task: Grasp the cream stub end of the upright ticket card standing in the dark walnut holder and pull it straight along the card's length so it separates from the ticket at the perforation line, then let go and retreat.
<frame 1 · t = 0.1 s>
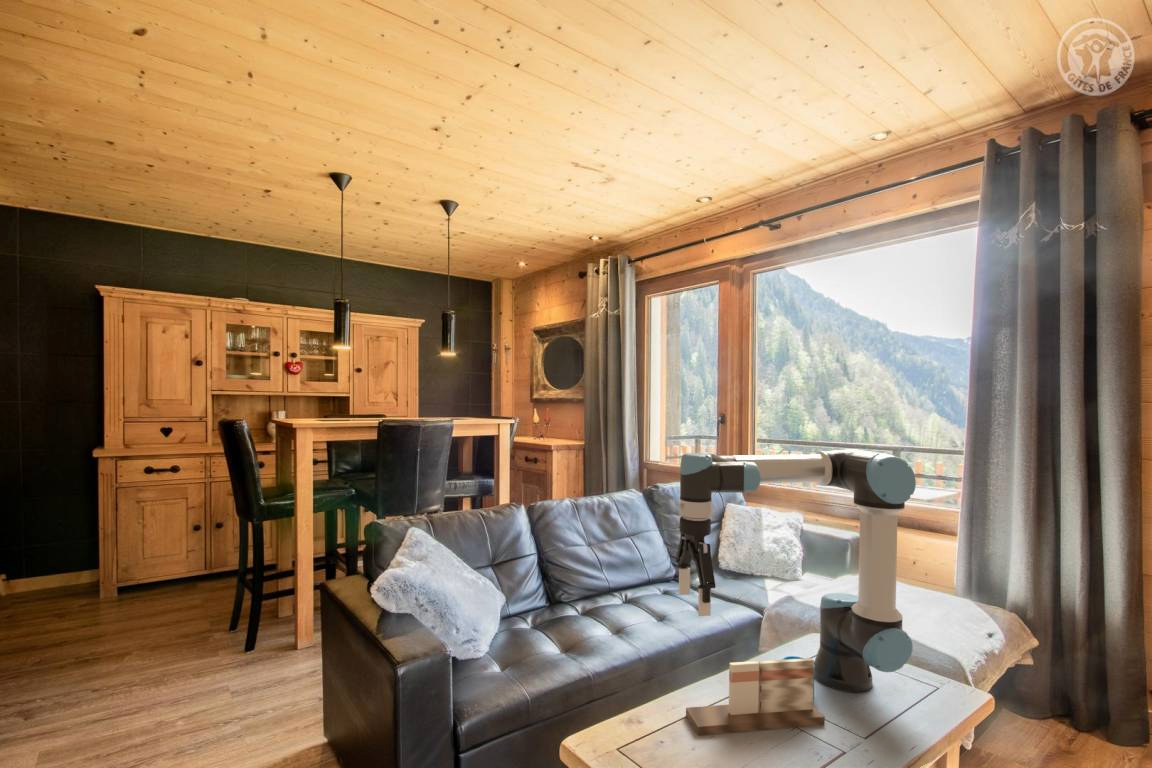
hand: (693, 604, 140), 28 cm above the table, fingers open, 13 cm apart
stub: (743, 687, 140), point 8 cm above the table, slide at 0.0 cm
mug: (793, 691, 154), on the table
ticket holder: (754, 720, 140), on the table
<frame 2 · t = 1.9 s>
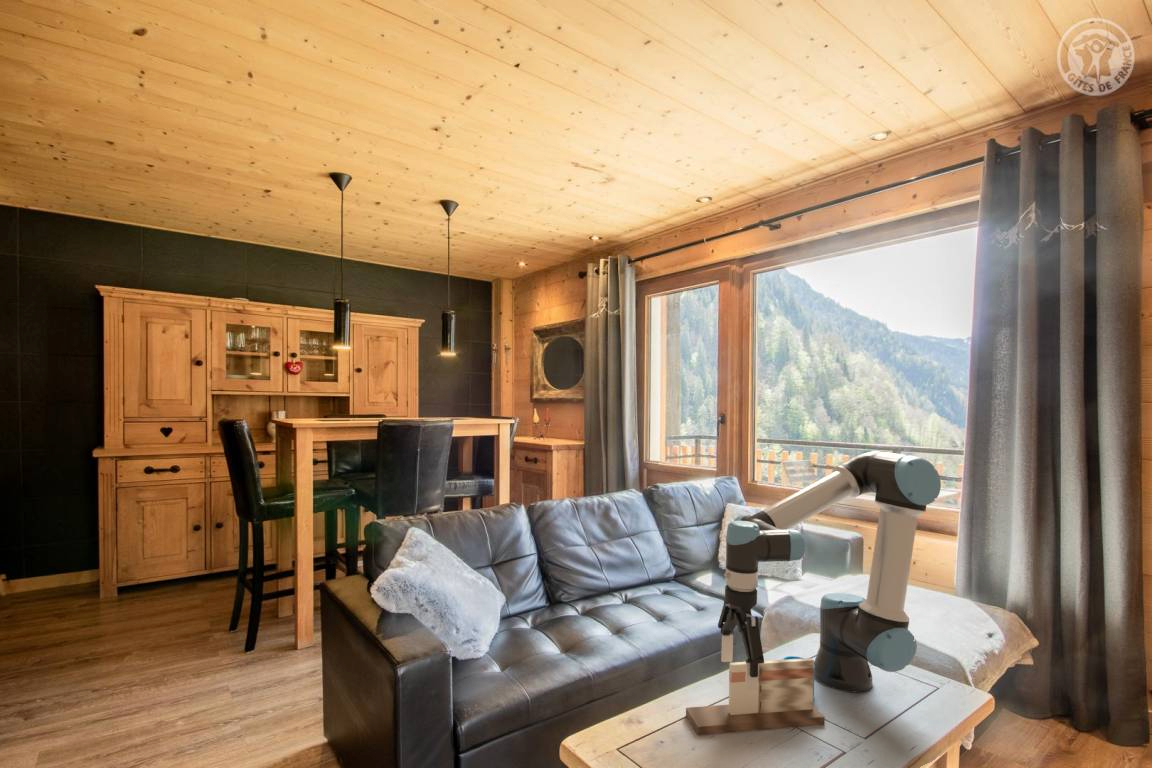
hand: (738, 674, 139), 11 cm above the table, fingers open, 13 cm apart
nothing on the table moved.
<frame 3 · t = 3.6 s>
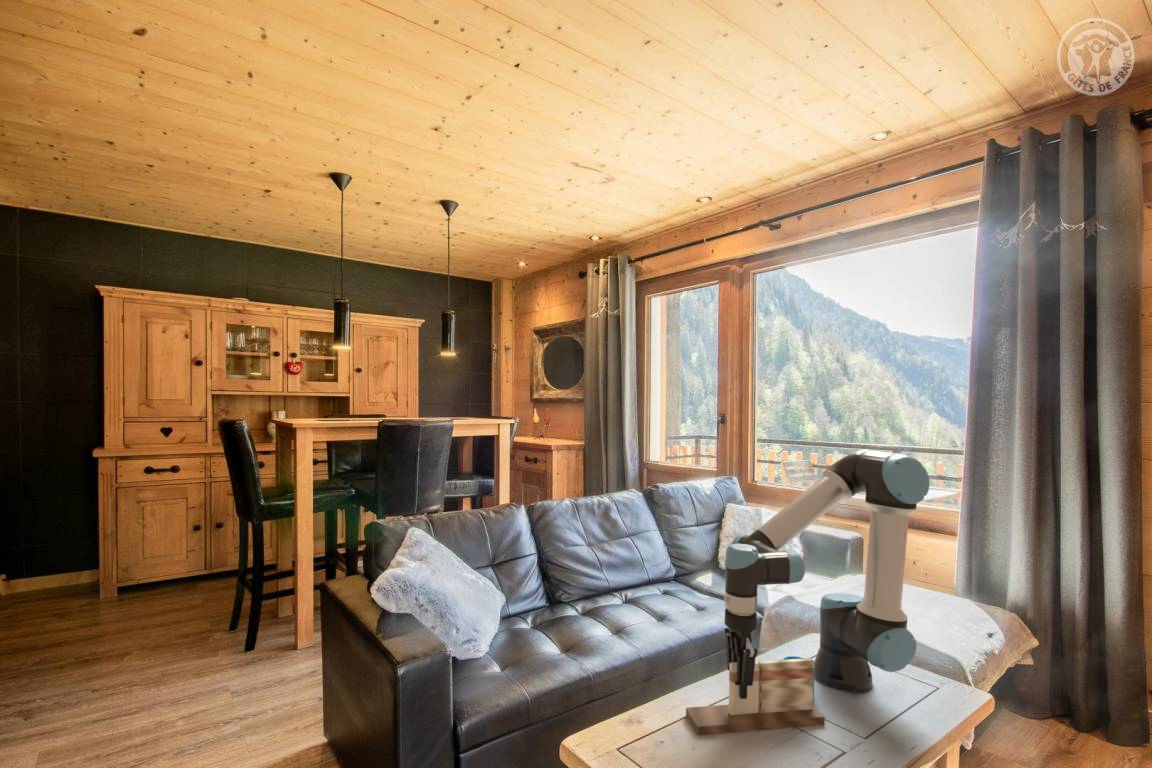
hand: (739, 707, 139), 3 cm above the table, fingers closed on stub
stub: (743, 687, 140), point 8 cm above the table, slide at 0.0 cm, touching gripper
everything else where it was.
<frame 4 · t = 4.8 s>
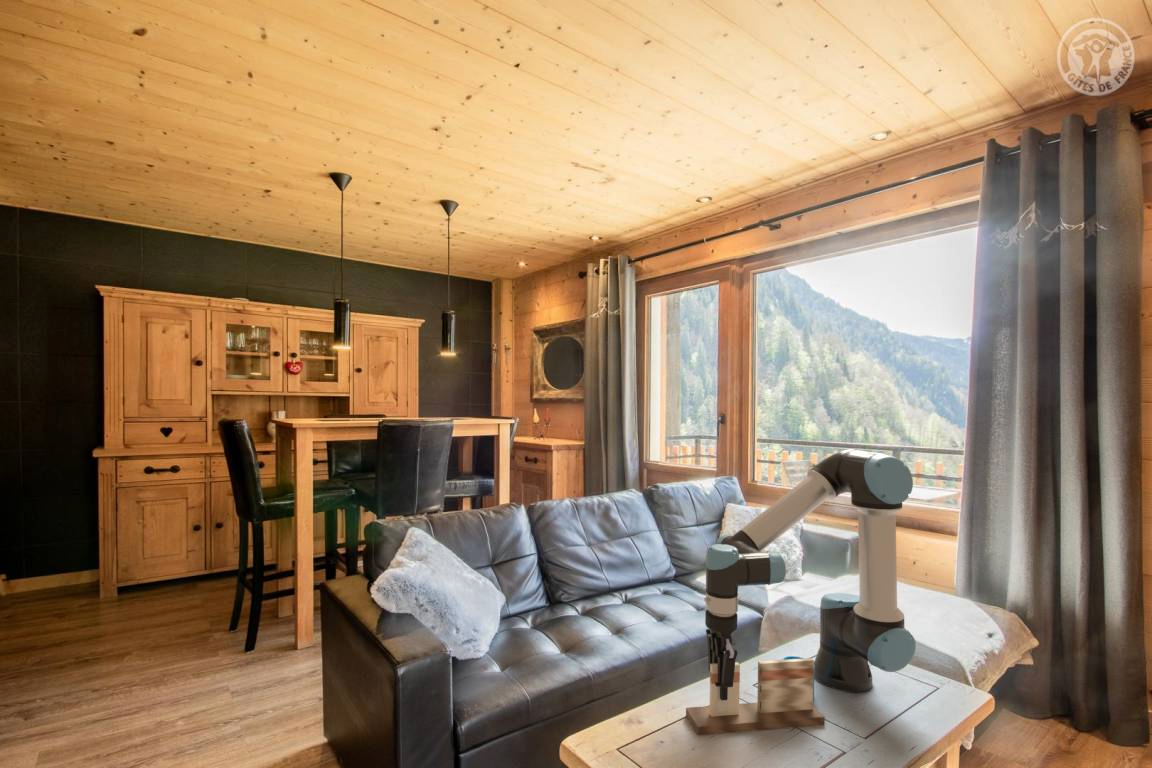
hand: (720, 708, 139), 3 cm above the table, fingers closed on stub
stub: (724, 689, 139), point 8 cm above the table, slide at 4.9 cm, touching gripper
everything else where it was.
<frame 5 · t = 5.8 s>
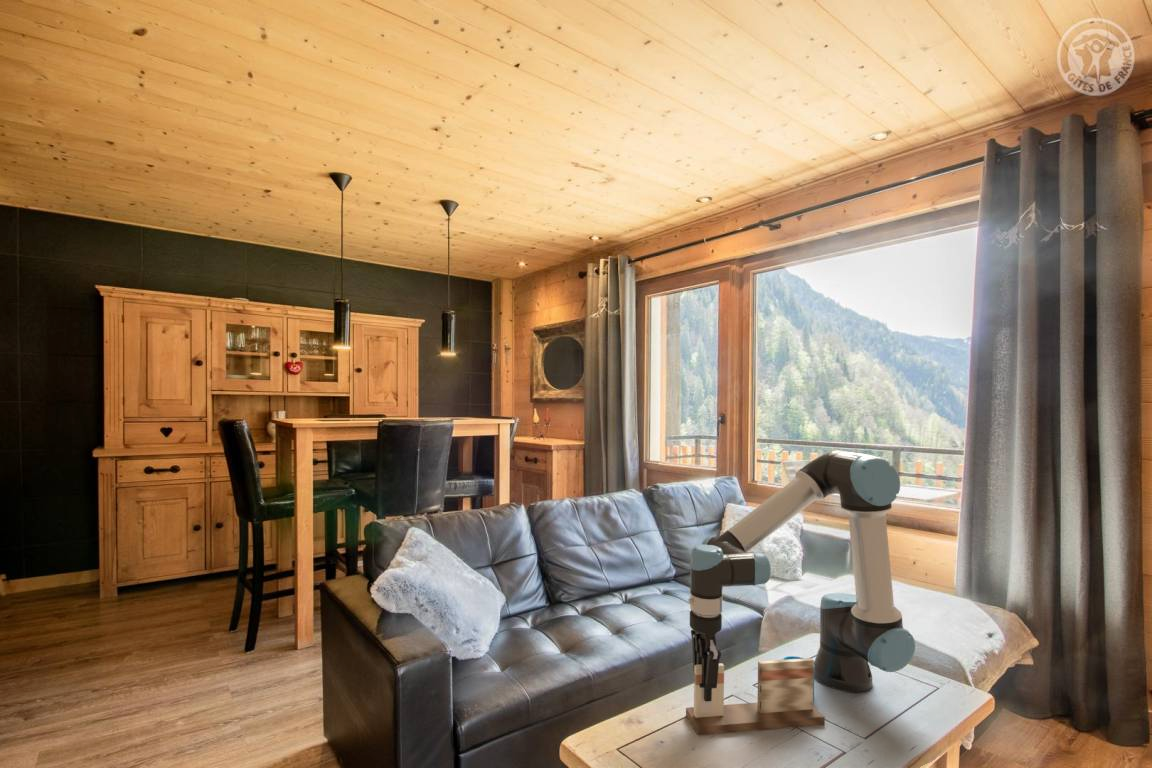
hand: (704, 710, 138), 3 cm above the table, fingers closed on stub
stub: (708, 690, 138), point 8 cm above the table, slide at 8.9 cm, touching gripper
everything else where it was.
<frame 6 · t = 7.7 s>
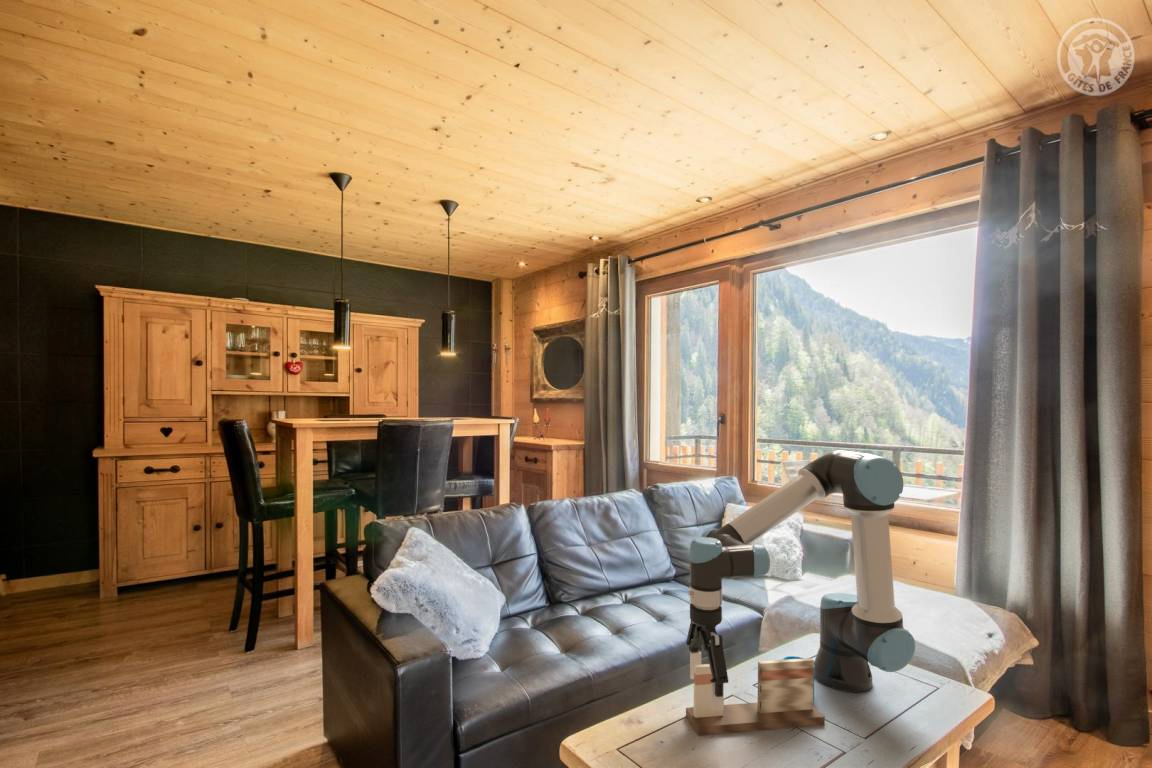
hand: (706, 692, 138), 8 cm above the table, fingers open, 13 cm apart
stub: (708, 690, 138), point 8 cm above the table, slide at 9.0 cm
everything else where it was.
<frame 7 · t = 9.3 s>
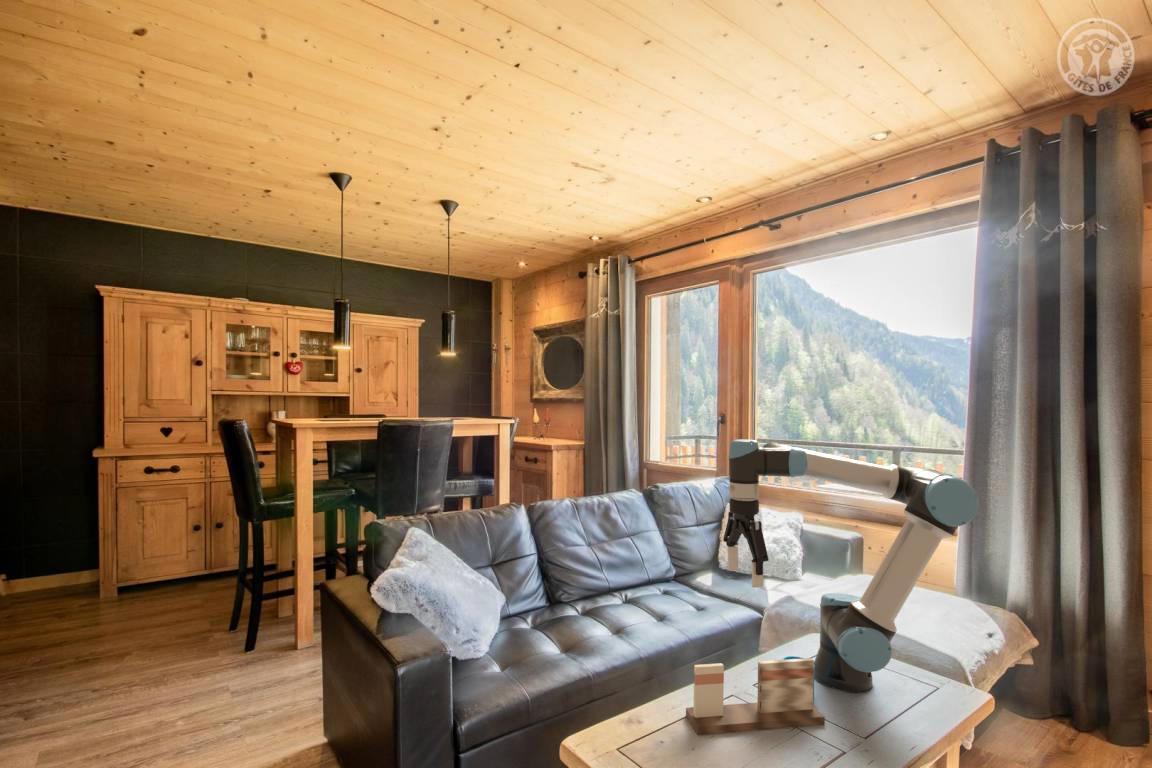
hand: (744, 578, 153), 30 cm above the table, fingers open, 13 cm apart
nothing on the table moved.
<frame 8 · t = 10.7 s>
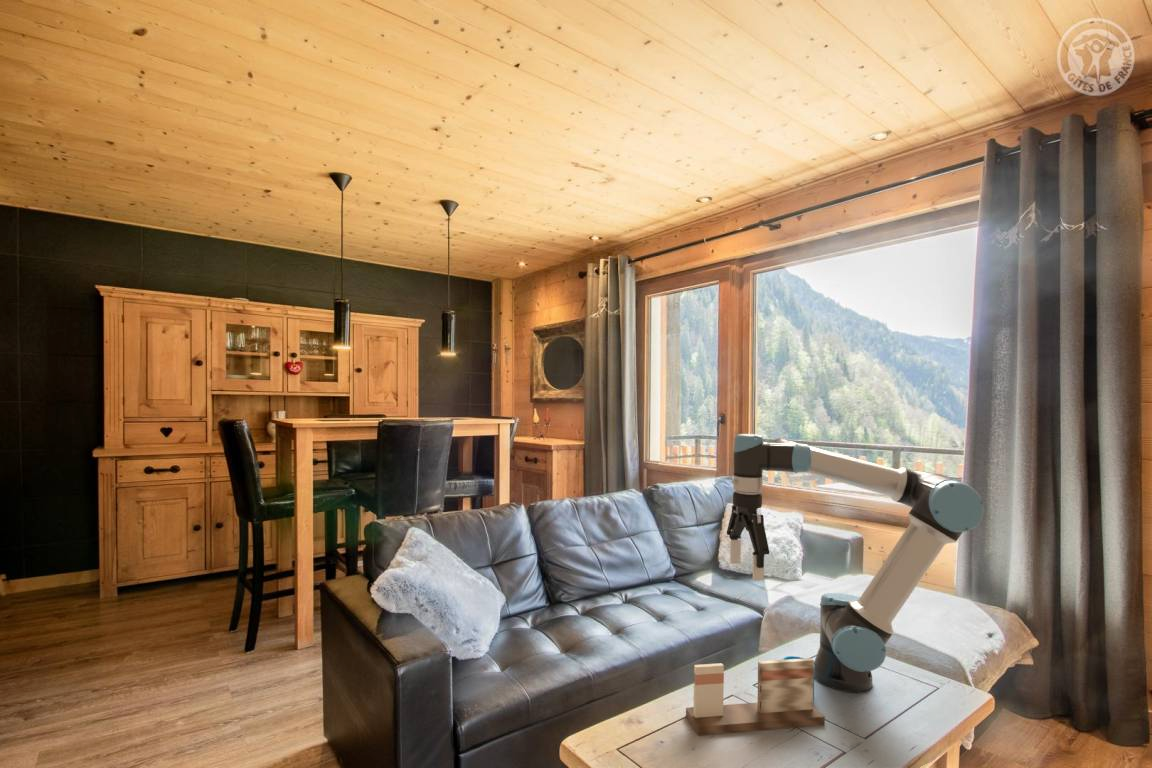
hand: (746, 571, 155), 32 cm above the table, fingers open, 13 cm apart
nothing on the table moved.
at the end: stub slide at 9.0 cm; the gripper is holding nothing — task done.
